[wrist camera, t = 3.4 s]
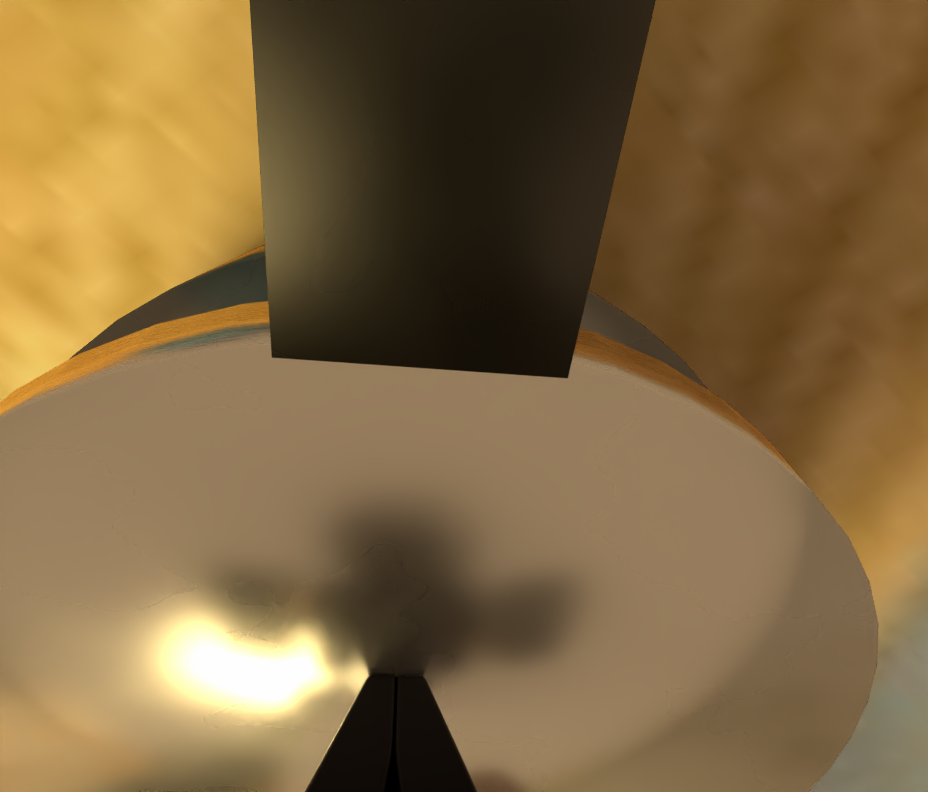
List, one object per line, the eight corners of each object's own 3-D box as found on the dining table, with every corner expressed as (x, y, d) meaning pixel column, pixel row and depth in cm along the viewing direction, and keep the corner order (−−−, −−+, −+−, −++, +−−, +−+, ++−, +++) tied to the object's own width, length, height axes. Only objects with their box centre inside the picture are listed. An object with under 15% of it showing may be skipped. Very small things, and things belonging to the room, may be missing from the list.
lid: (39, 895, 14) (10, 962, 13) (-637, -221, 4) (-968, -304, 3) (675, 879, 16) (693, 937, 15) (1231, 59, 6) (1398, 62, 5)
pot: (147, 688, 20) (42, 891, 14) (63, -52, 13) (-217, -230, 7) (606, 693, 22) (674, 876, 16) (762, 45, 14) (985, -36, 9)
